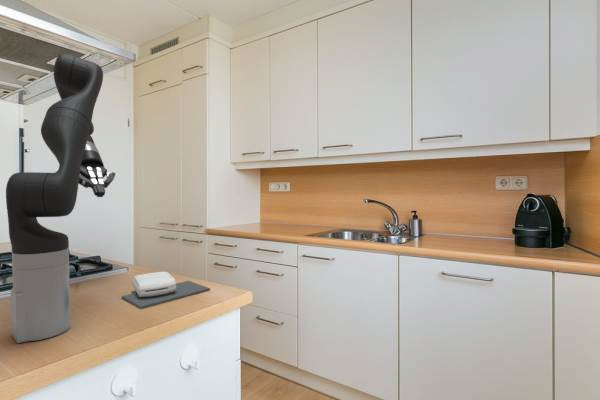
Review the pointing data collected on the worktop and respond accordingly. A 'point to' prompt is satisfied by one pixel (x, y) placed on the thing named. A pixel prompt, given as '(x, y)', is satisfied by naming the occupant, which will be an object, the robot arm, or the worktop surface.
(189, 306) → the worktop surface
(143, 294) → the photo printer
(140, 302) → the mat
